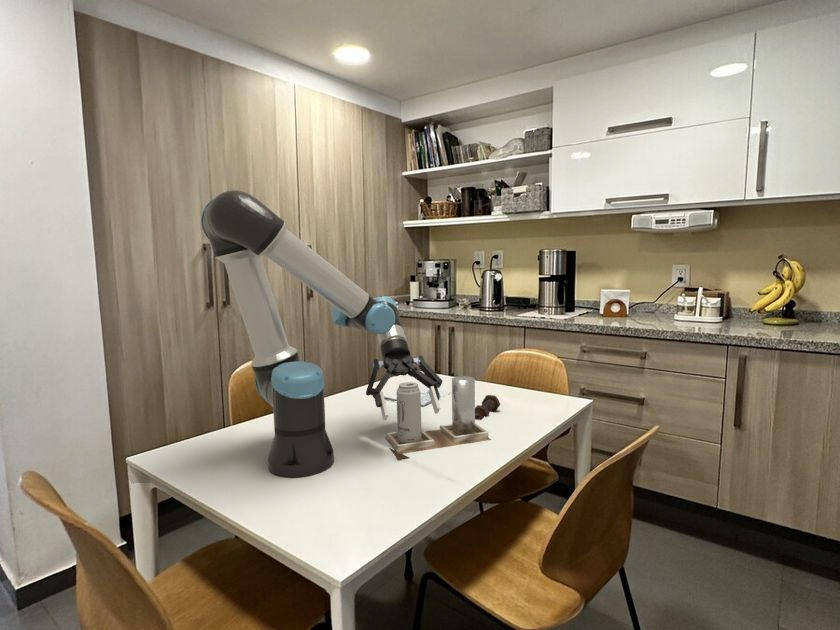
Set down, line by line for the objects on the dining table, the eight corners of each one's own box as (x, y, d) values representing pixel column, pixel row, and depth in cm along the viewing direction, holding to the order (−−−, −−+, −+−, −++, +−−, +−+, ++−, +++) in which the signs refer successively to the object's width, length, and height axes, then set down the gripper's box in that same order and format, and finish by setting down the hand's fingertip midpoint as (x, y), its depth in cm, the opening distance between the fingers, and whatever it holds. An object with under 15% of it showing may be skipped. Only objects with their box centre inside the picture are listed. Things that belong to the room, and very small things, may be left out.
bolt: (473, 430, 139) (489, 413, 152) (487, 424, 136) (502, 408, 150) (463, 412, 139) (480, 397, 153) (477, 406, 137) (493, 391, 150)
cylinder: (463, 440, 122) (463, 383, 120) (447, 434, 126) (446, 378, 125) (479, 434, 125) (479, 379, 124) (463, 428, 130) (463, 375, 128)
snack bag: (378, 400, 166) (378, 394, 166) (412, 387, 183) (412, 382, 182) (422, 409, 155) (422, 402, 155) (455, 394, 172) (455, 389, 171)
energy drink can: (393, 441, 122) (391, 384, 120) (412, 436, 125) (411, 380, 124) (406, 448, 117) (405, 389, 115) (426, 442, 120) (425, 384, 119)
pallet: (398, 460, 114) (398, 448, 113) (384, 442, 125) (384, 431, 125) (491, 445, 122) (491, 433, 122) (470, 430, 133) (470, 419, 133)
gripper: (432, 349, 137) (454, 415, 125) (346, 356, 129) (360, 427, 117) (439, 334, 132) (462, 401, 119) (350, 340, 123) (365, 413, 111)
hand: (412, 414), depth 118 cm, fingers open, 13 cm apart
